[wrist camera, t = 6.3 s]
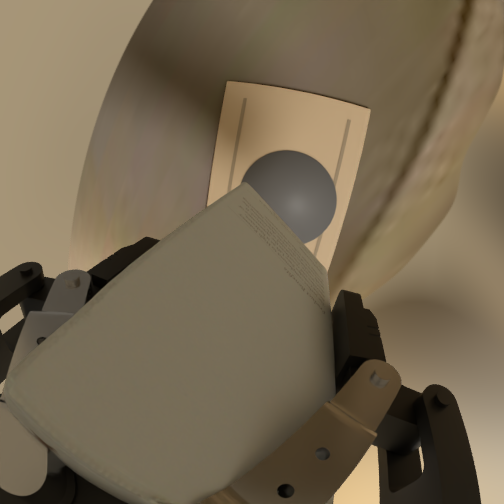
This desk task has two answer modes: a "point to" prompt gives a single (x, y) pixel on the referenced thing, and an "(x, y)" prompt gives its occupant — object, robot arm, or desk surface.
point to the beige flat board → (291, 157)
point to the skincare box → (187, 360)
